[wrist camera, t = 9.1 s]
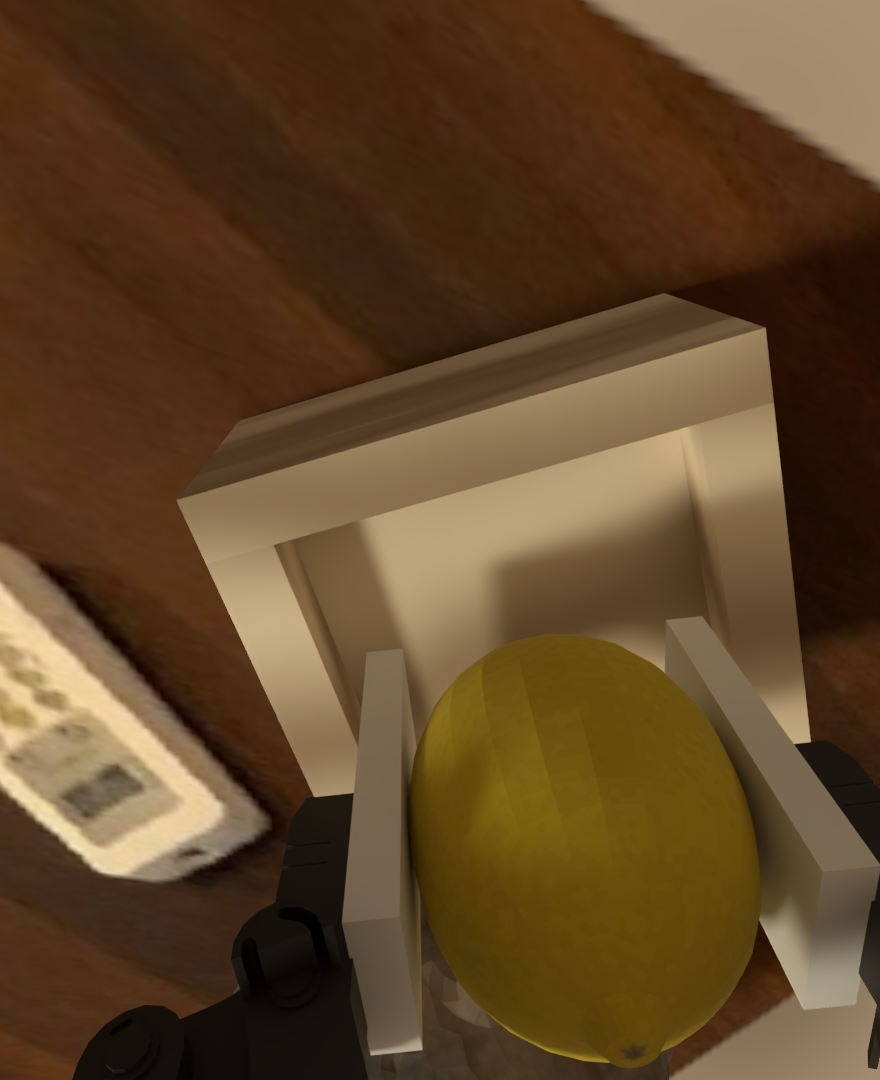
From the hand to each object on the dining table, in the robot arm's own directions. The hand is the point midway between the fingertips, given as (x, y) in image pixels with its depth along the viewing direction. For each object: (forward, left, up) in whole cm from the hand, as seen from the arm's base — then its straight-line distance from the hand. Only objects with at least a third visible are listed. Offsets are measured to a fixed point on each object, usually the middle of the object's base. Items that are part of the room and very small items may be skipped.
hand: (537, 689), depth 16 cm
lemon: (0, 0, -1) cm, 1 cm away
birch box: (0, 0, -8) cm, 8 cm away
